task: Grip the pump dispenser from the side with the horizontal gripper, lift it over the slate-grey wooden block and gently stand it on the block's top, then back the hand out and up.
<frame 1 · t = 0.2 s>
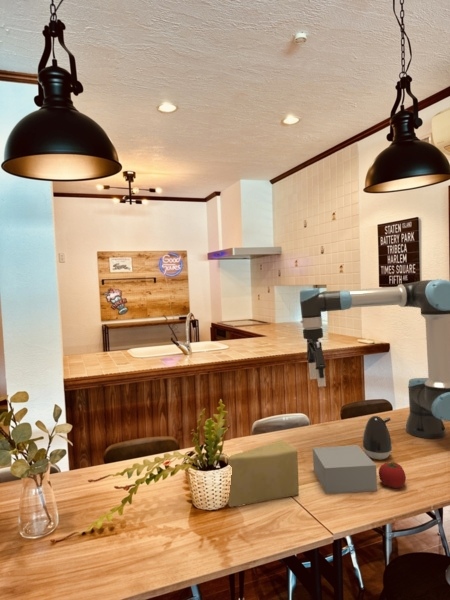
hand: (317, 382, 153), 27 cm above the table, tool pointing down, fingers open, 13 cm apart
tomato: (392, 485, 125), on the table
pump dispenser: (377, 457, 146), on the table
slate block: (343, 479, 130), on the table
cheese: (261, 498, 121), on the table
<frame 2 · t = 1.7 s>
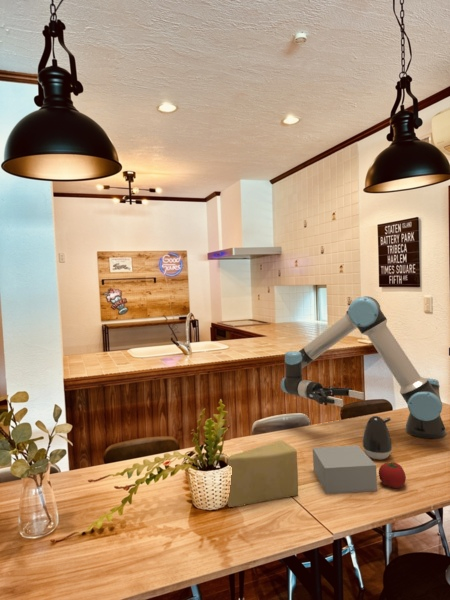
hand: (353, 399, 153), 20 cm above the table, tool horizontal, fingers open, 13 cm apart
nothing on the table moved.
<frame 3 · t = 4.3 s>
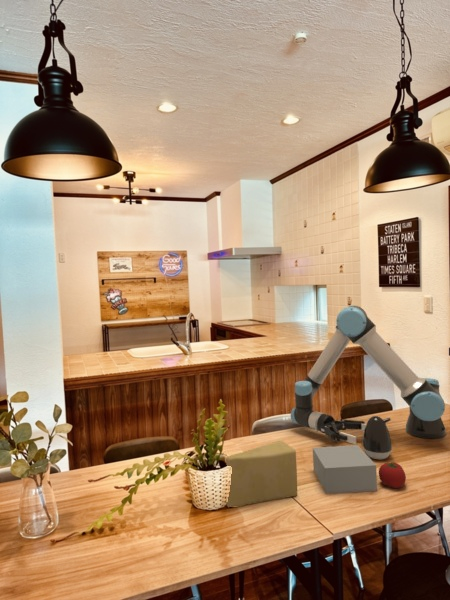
hand: (366, 435, 149), 7 cm above the table, tool horizontal, fingers open, 13 cm apart
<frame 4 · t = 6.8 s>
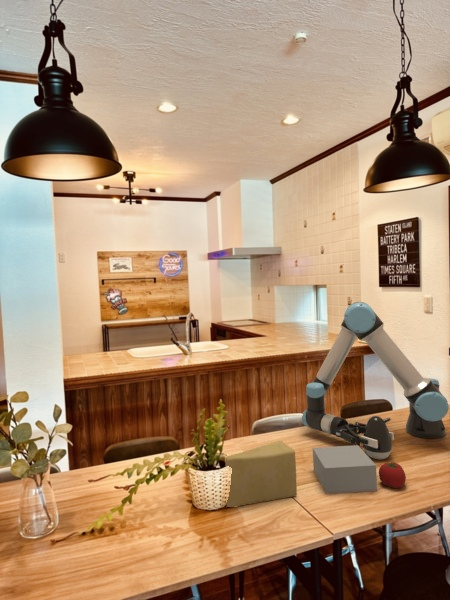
hand: (385, 440, 143), 7 cm above the table, tool horizontal, fingers closed on pump dispenser, 10 cm apart
pump dispenser: (378, 457, 146), on the table, touching gripper
everything else where it was.
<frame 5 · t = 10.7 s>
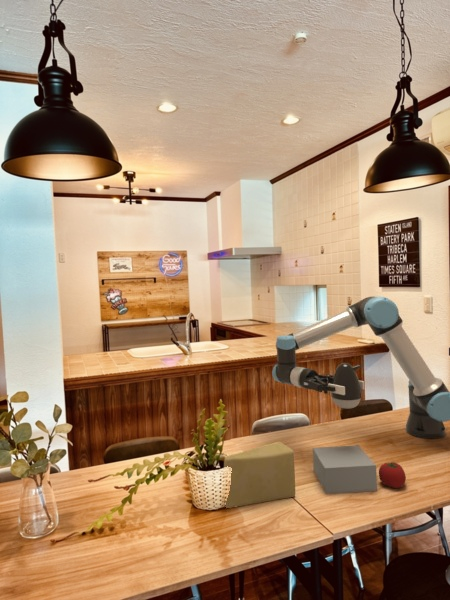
hand: (354, 388, 134), 29 cm above the table, tool horizontal, fingers closed on pump dispenser, 10 cm apart
pump dispenser: (346, 406, 137), point 22 cm above the table, touching gripper
when the fingers open (16 cm above the table, at t = 15.0 s): pump dispenser stays where it is, resting on slate block.
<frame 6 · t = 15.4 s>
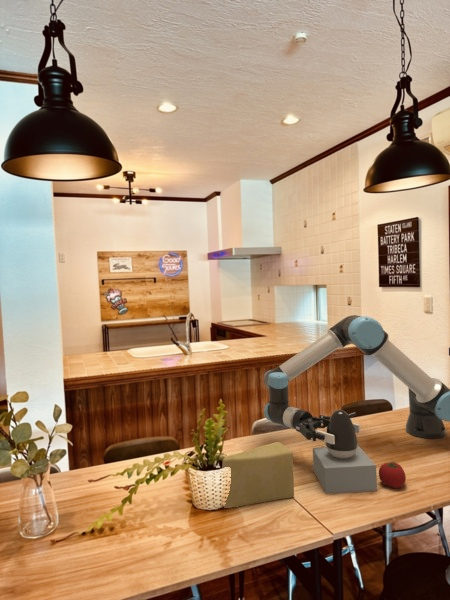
hand: (347, 434, 128), 16 cm above the table, tool horizontal, fingers open, 13 cm apart
pump dispenser: (342, 456, 130), point 8 cm above the table, touching slate block
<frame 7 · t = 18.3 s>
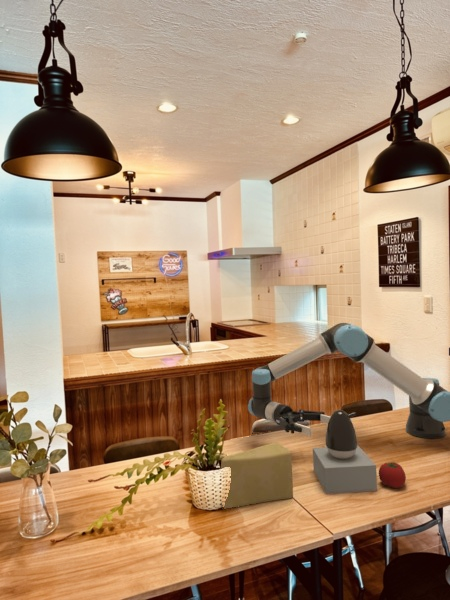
hand: (323, 426, 135), 16 cm above the table, tool horizontal, fingers open, 13 cm apart
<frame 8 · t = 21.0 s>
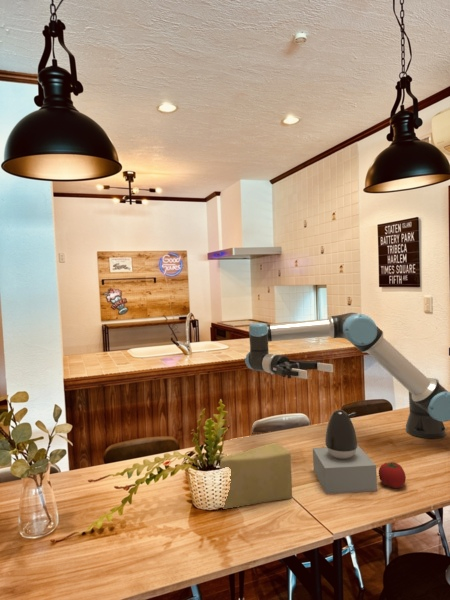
hand: (320, 371, 135), 35 cm above the table, tool horizontal, fingers open, 13 cm apart
at the end: pump dispenser inside the target area on the slate block (0.1 cm from its centre), point 7.8 cm above the slate block's base; pump dispenser tilted 0°; the gripper is holding nothing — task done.
